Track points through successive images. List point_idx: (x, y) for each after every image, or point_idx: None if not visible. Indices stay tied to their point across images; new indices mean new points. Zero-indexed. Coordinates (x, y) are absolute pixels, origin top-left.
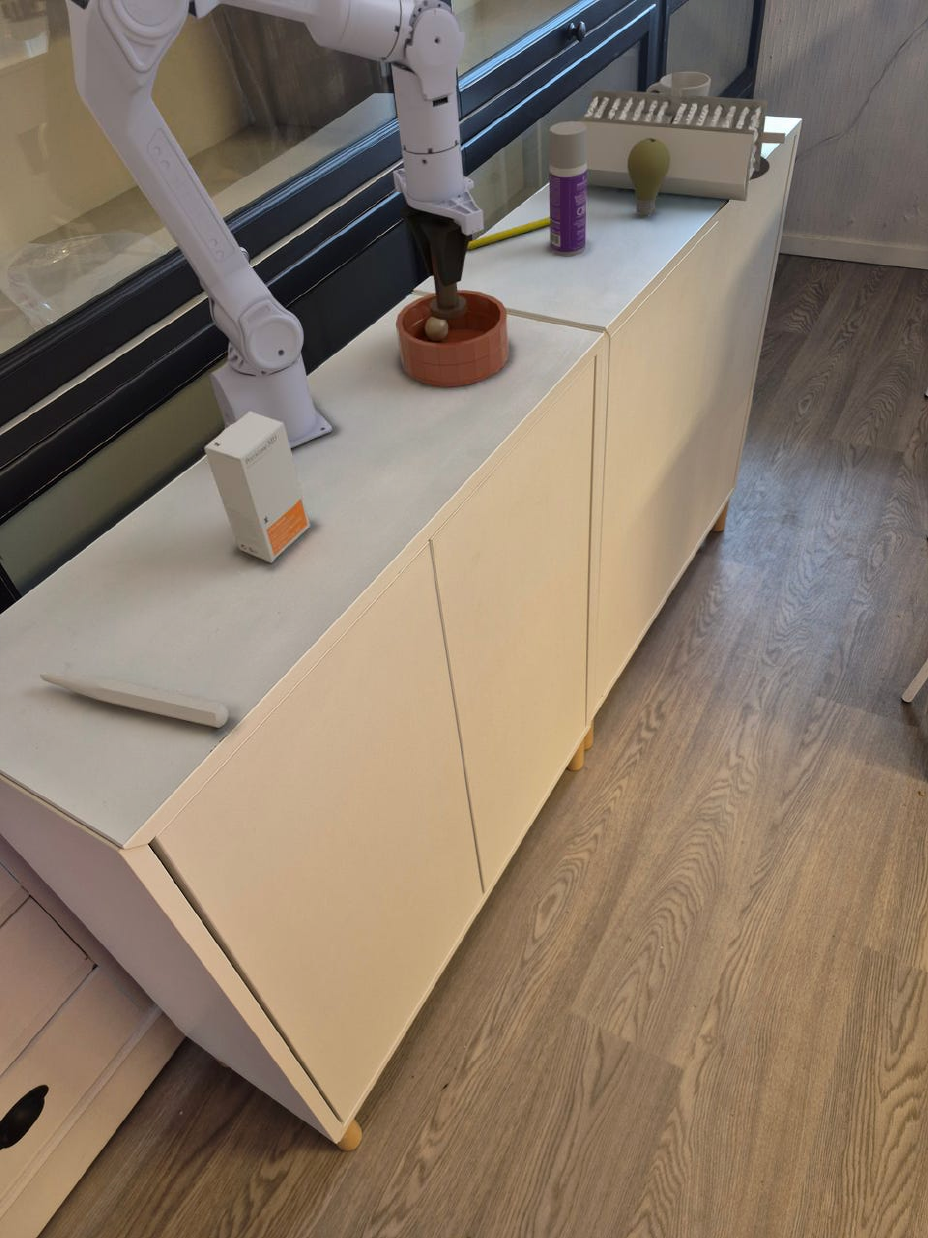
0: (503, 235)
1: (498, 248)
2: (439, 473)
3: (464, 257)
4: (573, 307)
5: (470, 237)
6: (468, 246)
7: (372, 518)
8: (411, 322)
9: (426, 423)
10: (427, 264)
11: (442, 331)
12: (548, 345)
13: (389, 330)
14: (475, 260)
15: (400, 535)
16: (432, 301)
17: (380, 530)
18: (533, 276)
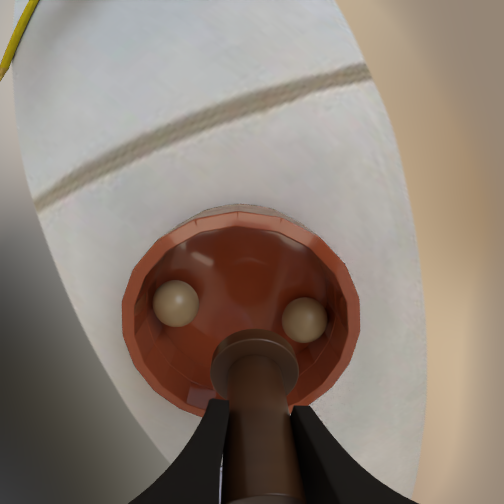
0: (27, 15)
1: (37, 32)
2: (400, 428)
3: (342, 448)
4: (275, 40)
5: (393, 490)
6: (4, 71)
7: (382, 474)
8: (153, 349)
9: (336, 410)
10: (220, 466)
11: (197, 308)
12: (341, 161)
13: (95, 316)
14: (29, 76)
15: (411, 464)
16: (222, 392)
17: (395, 472)
18: (135, 24)
